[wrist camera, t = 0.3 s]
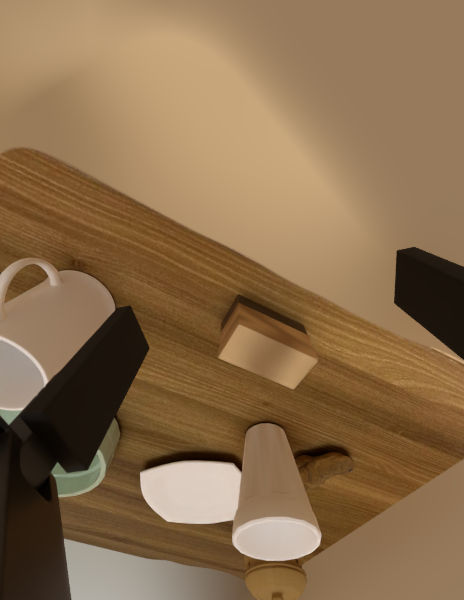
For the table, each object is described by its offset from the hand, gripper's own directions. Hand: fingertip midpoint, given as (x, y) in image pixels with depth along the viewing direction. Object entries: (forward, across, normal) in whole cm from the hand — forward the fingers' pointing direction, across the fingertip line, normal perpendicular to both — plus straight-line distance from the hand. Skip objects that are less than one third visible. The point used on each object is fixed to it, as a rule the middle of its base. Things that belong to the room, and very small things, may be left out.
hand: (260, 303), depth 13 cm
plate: (+16, -18, -42) cm, 48 cm away
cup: (+16, -4, -31) cm, 35 cm away
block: (+15, 0, -11) cm, 19 cm away
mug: (+16, -20, -2) cm, 26 cm away
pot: (+16, -8, -63) cm, 65 cm away
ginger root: (+16, +4, -40) cm, 43 cm away
